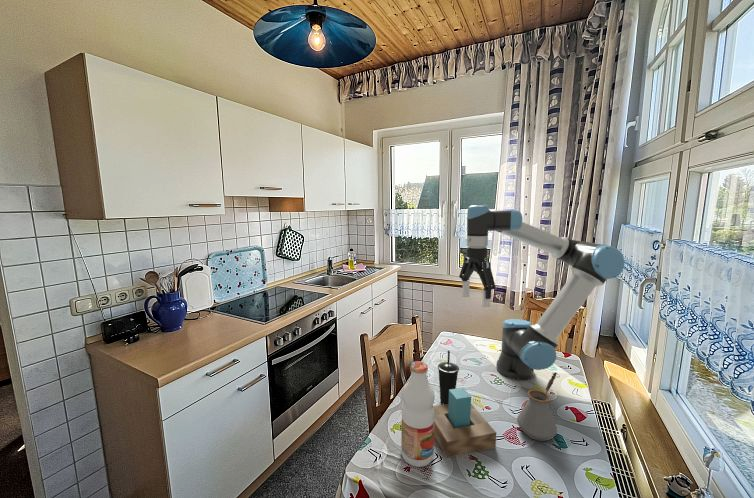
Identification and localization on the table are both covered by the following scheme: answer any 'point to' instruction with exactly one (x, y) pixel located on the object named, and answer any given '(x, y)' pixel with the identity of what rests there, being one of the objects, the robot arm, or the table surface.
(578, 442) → the table surface
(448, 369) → the drinking cup
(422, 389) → the fruit juice
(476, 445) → the socket block
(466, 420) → the peg
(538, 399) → the coffee pot
